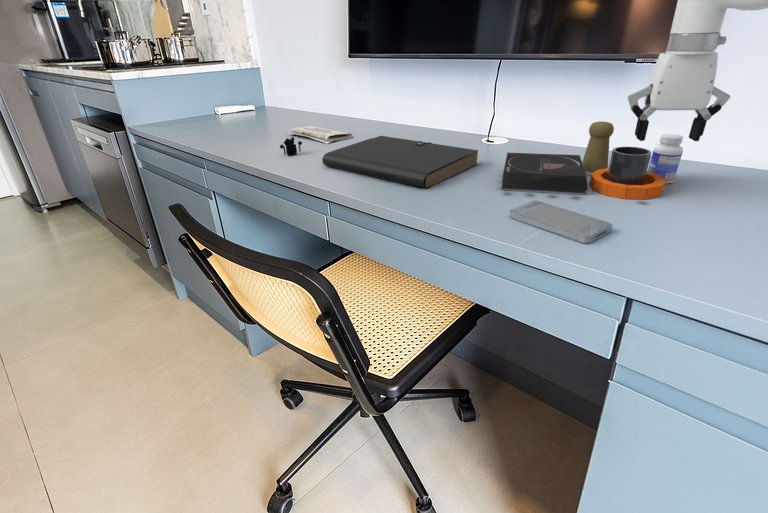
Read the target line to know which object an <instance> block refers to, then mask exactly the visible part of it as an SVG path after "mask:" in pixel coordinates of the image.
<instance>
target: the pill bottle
mask: <svg viewBox="0 0 768 513" xmlns="http://www.w3.org/2000/svg"><path fill="white" fill-rule="evenodd" d="M683 140H684V136H683V135H680V134H676V133H675V134H674V133H663V134H661V136H660V137H659V144H656V145H655V146H654V147H653V150H652V152H651V156H650V160H649V164H648V168H647V171H648V172H651V173H654V174H657V175H660V176H661V177H662V178H664V179H665V180H666V183H665V185H666V184H671V183H674V181H675V179H676V176H677V172H678V168H679V166H680V162H681V159H682V155H683V153H684V148H683V147H682V146H681V145H682V143H683Z"/></svg>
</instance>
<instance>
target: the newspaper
mask: <svg viewBox="0 0 768 513" xmlns="http://www.w3.org/2000/svg"><path fill="white" fill-rule="evenodd" d="M287 133H288V134H292V135H296V136H301V137H307V138H309V139H313V140H315V141H318V142H322V143H325V144H327V145H328V144H329V143H332V142H334V141H341V140H342V141H343V140H347V139H350V138H352V136H353V133H349V132H344V131H340V130H335V129H329V128H324V127H319V126H314V125H310V126H309V125H308V126H307V125H306V126H299V127H298V126H297V127H294V128H293V127H292V128H290V130H289V131H287Z"/></svg>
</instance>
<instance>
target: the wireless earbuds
mask: <svg viewBox="0 0 768 513" xmlns="http://www.w3.org/2000/svg"><path fill="white" fill-rule="evenodd" d="M297 144H298V149H297ZM297 144H296V143H295V138H294V137H293V136H292V137H290V138H288V137H287V138H285V140H284V141H283V144H280V145H279V148H280V149H281V150H283V154H284V156H286V155H287V156H290V157H291V156H294V155H295V156H296V155H297V153H298V151H299V153H301V152H302V149H301V145H303V142H302V140H299V141H297Z"/></svg>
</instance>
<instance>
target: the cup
mask: <svg viewBox="0 0 768 513" xmlns="http://www.w3.org/2000/svg"><path fill="white" fill-rule="evenodd" d="M651 157H652V151H651V150H650V149H647V148H644V147H639V146H617V147H614V148H613V149H612V151H611V154H610V159H609V163H608V168H609V169H608V174H607V179H606V180H608V181H611V182H614V183H620V184H625V185H644V181H645V177H646V172H647V171H648V169H649V165H650V161H651Z"/></svg>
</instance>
